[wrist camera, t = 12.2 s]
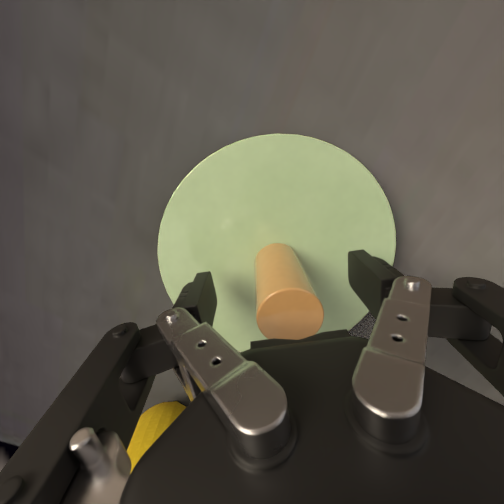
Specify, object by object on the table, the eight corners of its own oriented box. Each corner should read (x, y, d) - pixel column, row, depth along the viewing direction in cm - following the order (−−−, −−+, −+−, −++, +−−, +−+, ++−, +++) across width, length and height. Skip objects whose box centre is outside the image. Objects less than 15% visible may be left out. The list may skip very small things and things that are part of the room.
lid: (224, 80, 13) (199, 4, 6) (434, 212, 15) (562, 250, 9) (133, 296, 17) (66, 374, 11) (307, 369, 20) (333, 466, 14)
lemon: (180, 432, 22) (146, 570, 15) (130, 403, 21) (65, 538, 14) (221, 402, 21) (206, 536, 14) (170, 368, 20) (122, 496, 12)
